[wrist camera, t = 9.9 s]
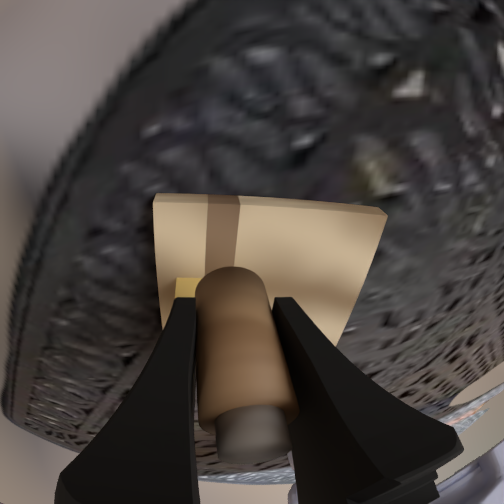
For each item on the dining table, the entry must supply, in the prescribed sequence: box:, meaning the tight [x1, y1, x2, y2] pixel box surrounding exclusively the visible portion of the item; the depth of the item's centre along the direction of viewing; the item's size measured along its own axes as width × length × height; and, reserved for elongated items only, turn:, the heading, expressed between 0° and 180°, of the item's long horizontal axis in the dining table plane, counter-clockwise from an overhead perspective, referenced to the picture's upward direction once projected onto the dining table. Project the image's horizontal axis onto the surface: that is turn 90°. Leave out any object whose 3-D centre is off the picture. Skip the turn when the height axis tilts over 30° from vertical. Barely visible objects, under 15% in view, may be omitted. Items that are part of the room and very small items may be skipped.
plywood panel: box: [153, 193, 387, 347], centre depth 19 cm, size 12×13×1 cm
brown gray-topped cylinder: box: [195, 266, 300, 464], centre depth 8 cm, size 3×3×6 cm
